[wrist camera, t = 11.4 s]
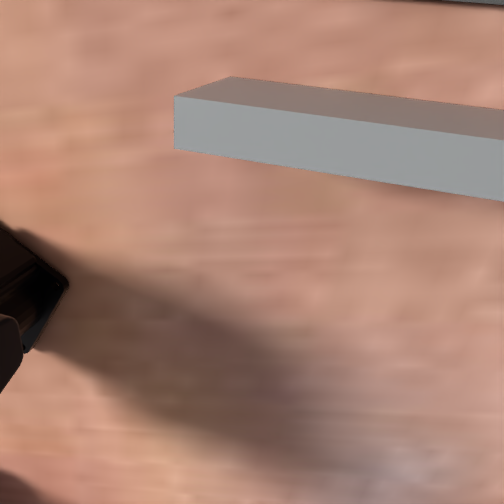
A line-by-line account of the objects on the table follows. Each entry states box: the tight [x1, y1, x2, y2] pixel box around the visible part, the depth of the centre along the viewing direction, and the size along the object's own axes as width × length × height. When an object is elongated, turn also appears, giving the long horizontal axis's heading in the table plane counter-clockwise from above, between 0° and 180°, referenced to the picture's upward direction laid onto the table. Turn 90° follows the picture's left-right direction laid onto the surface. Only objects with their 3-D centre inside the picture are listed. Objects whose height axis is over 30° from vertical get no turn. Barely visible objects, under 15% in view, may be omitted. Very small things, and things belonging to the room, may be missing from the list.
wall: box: [174, 77, 504, 202], centre depth 14 cm, size 18×2×5 cm, turn 85°
